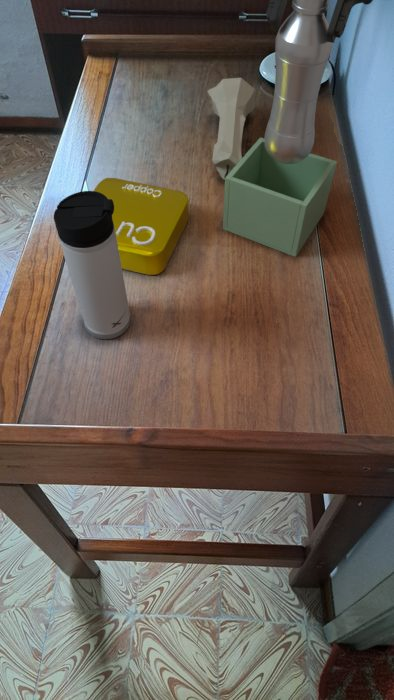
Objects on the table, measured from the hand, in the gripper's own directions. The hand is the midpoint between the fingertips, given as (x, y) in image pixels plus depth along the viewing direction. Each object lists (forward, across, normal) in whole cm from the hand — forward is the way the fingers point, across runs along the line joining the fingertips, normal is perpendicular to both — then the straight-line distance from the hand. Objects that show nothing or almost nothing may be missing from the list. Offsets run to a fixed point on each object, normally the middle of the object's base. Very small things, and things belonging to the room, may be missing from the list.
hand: (301, 32), depth 56 cm
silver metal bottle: (+10, 0, +13) cm, 17 cm away
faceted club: (+8, -15, +34) cm, 38 cm away
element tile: (+27, -20, +14) cm, 37 cm away
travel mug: (+39, -14, +3) cm, 41 cm away
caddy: (+18, -1, +23) cm, 30 cm away
